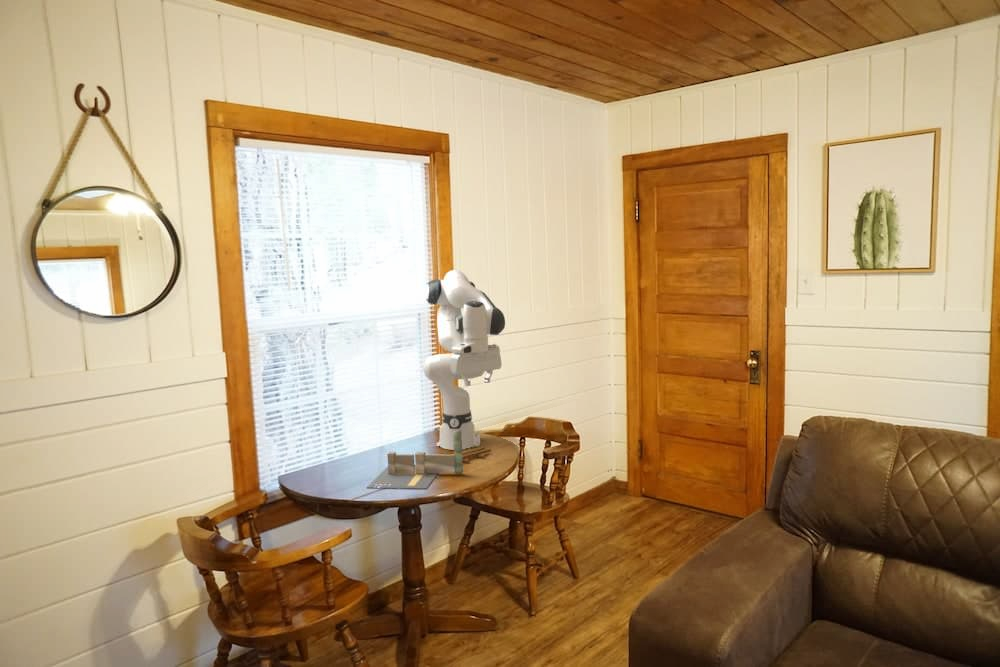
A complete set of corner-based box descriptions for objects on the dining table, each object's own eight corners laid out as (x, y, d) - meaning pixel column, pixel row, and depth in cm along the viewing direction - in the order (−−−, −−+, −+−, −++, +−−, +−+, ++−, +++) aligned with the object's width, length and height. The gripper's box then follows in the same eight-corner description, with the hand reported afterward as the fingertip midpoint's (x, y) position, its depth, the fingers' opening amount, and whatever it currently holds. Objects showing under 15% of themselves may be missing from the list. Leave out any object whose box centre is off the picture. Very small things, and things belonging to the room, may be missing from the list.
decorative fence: (429, 463, 252) (446, 468, 245) (429, 458, 252) (446, 463, 245) (478, 450, 270) (495, 455, 263) (478, 445, 270) (495, 450, 263)
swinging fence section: (418, 471, 243) (416, 430, 242) (463, 471, 241) (462, 430, 239) (416, 473, 240) (413, 432, 239) (462, 474, 238) (460, 432, 236)
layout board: (389, 465, 254) (389, 464, 254) (443, 466, 251) (443, 464, 251) (366, 488, 228) (366, 487, 228) (426, 489, 225) (426, 487, 225)
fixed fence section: (390, 471, 245) (389, 451, 244) (415, 472, 243) (414, 452, 242) (388, 473, 242) (387, 453, 241) (413, 474, 241) (412, 453, 240)
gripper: (494, 343, 250) (495, 379, 251) (447, 348, 238) (449, 386, 239) (504, 344, 245) (505, 381, 246) (457, 349, 233) (459, 388, 234)
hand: (477, 384), depth 243 cm, fingers open, 7 cm apart
